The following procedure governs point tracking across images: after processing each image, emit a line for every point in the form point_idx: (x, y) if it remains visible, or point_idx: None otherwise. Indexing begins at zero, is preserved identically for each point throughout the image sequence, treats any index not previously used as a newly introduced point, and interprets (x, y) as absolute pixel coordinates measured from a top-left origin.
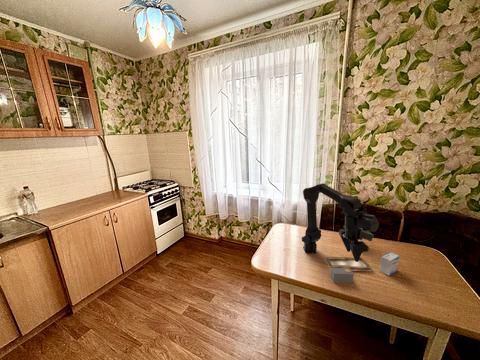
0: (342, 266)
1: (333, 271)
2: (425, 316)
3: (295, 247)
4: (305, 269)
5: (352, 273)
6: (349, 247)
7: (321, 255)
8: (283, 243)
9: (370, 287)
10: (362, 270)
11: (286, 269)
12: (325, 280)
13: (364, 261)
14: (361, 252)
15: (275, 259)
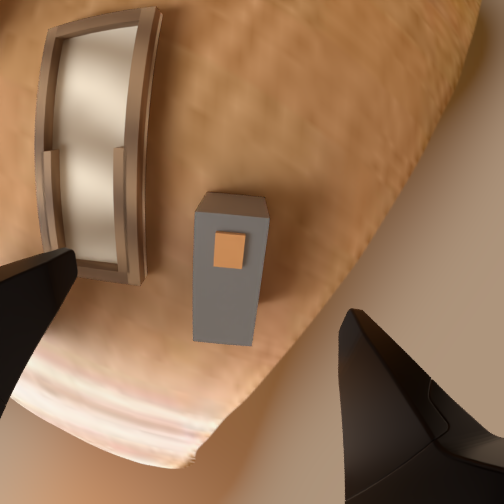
0: (126, 208)
1: (230, 341)
2: (473, 28)
3: None
4: (158, 381)
5: (262, 225)
6: (32, 286)
7: None
8: None
9: (315, 108)
10: (152, 68)
11: (170, 427)
12: None
13: (84, 28)
14: (484, 447)
15: (119, 432)
